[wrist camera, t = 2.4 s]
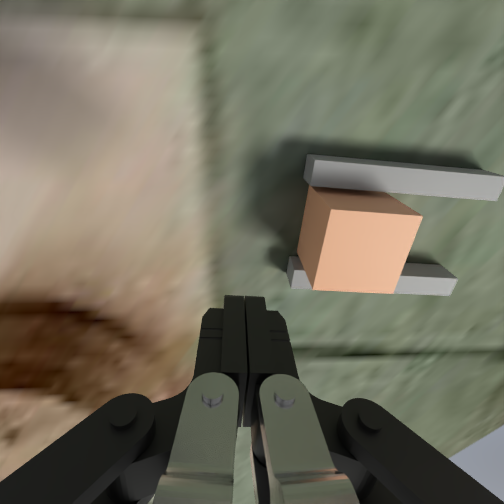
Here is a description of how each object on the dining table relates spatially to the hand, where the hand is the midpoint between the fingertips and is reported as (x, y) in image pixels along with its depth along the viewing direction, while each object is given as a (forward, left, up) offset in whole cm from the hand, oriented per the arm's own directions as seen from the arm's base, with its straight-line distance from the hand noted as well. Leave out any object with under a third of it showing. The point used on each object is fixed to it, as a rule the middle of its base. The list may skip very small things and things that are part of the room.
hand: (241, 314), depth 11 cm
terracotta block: (0, +7, -10) cm, 12 cm away
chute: (0, +10, -10) cm, 14 cm away
